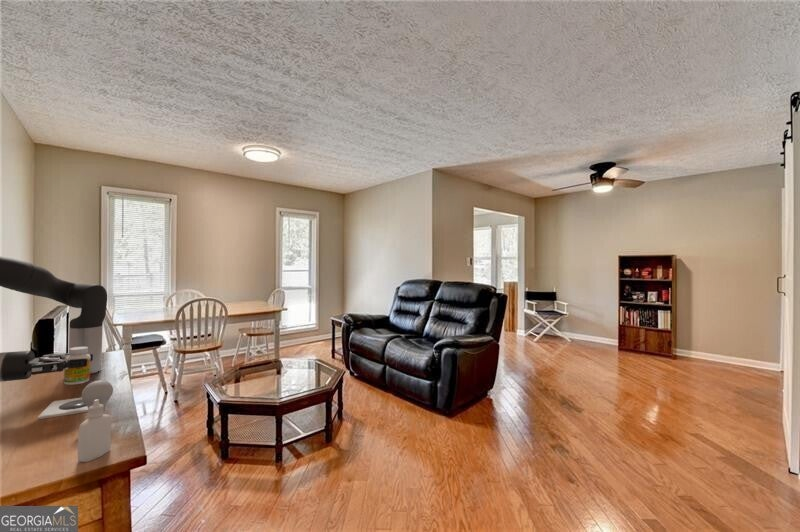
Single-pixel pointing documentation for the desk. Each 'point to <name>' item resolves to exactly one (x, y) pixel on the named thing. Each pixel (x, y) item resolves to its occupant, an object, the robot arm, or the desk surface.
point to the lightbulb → (97, 393)
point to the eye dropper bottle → (94, 434)
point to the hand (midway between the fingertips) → (89, 359)
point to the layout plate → (64, 408)
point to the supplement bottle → (78, 373)
